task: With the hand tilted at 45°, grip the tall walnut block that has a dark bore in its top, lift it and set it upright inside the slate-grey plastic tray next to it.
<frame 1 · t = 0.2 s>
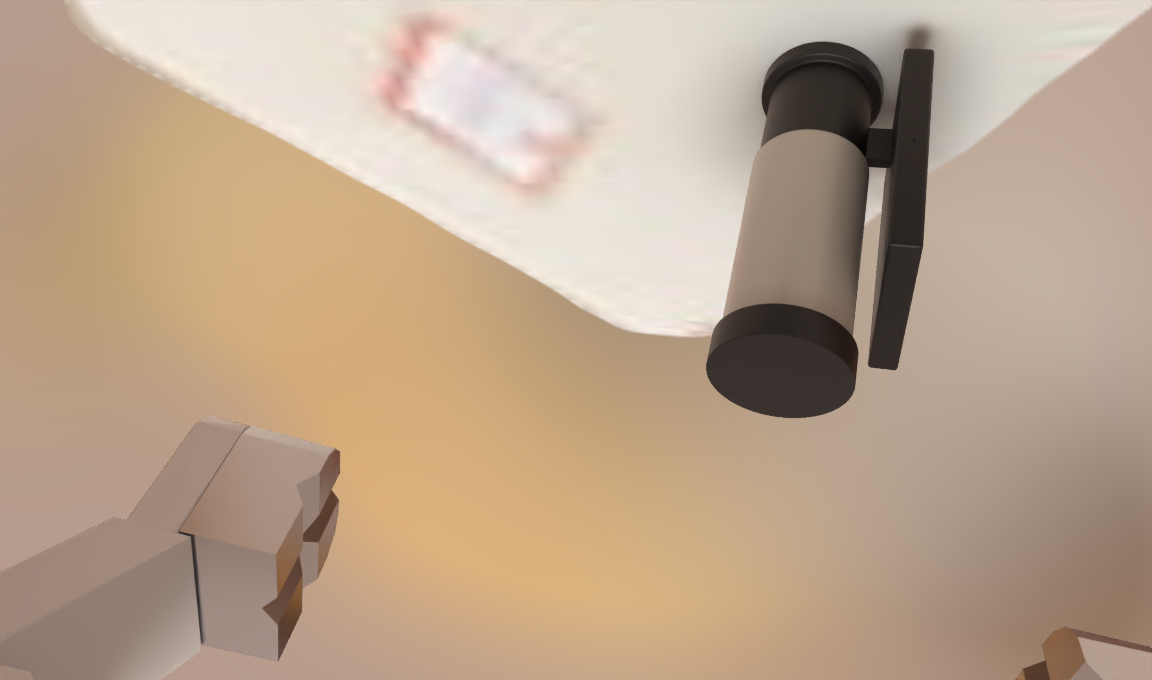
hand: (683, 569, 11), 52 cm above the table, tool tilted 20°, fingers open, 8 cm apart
light fixture: (841, 89, 69), on the table
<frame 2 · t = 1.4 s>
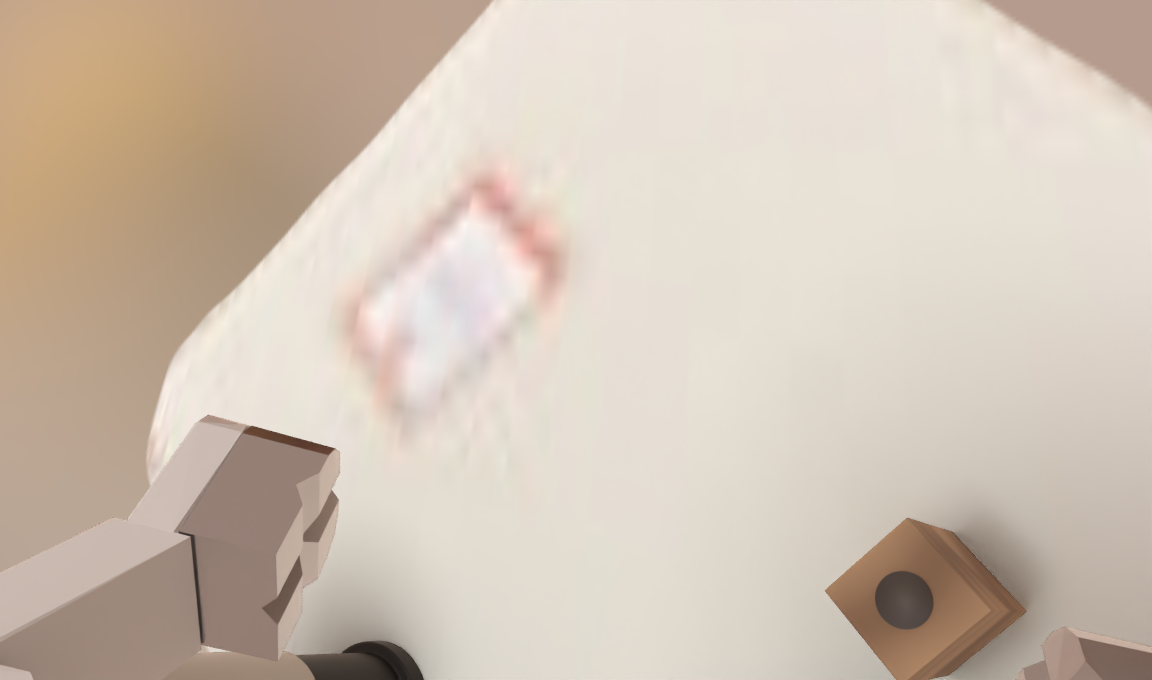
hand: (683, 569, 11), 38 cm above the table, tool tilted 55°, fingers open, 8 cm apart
walnut block: (950, 602, 45), on the table
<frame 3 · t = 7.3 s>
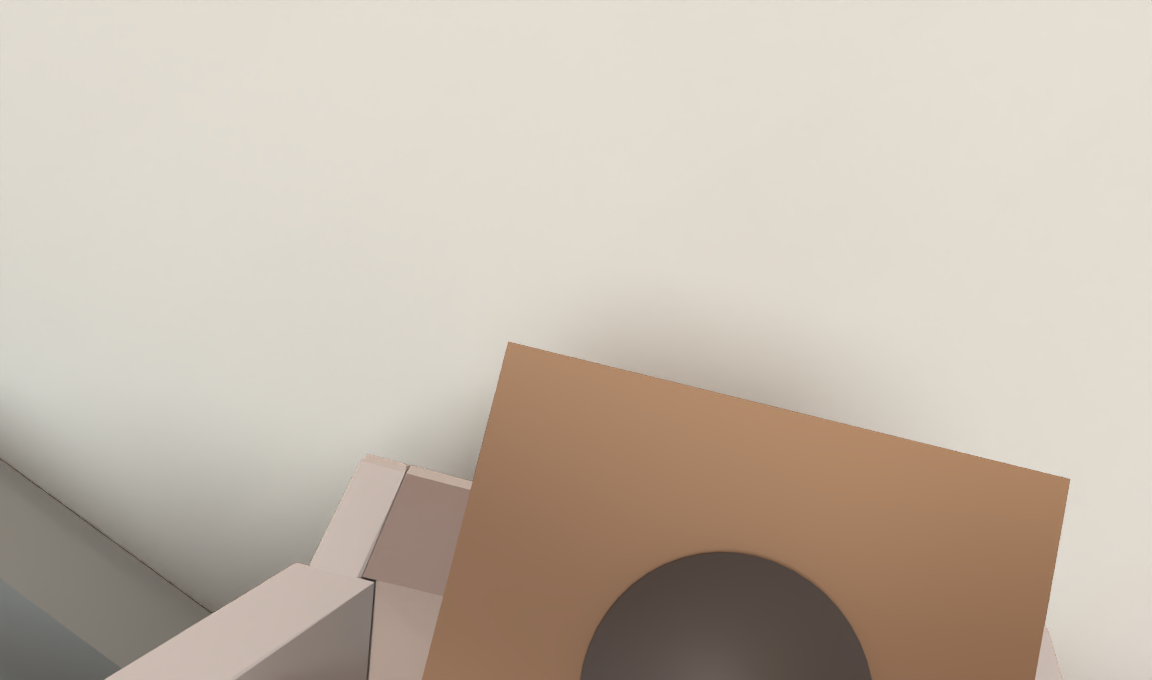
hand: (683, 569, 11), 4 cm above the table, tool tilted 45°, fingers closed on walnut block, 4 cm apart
walnut block: (641, 579, 15), on the table, touching gripper
when the fingers open (7 cm above the table, at t = 14.1 s): walnut block drops 2 cm, resting on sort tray.
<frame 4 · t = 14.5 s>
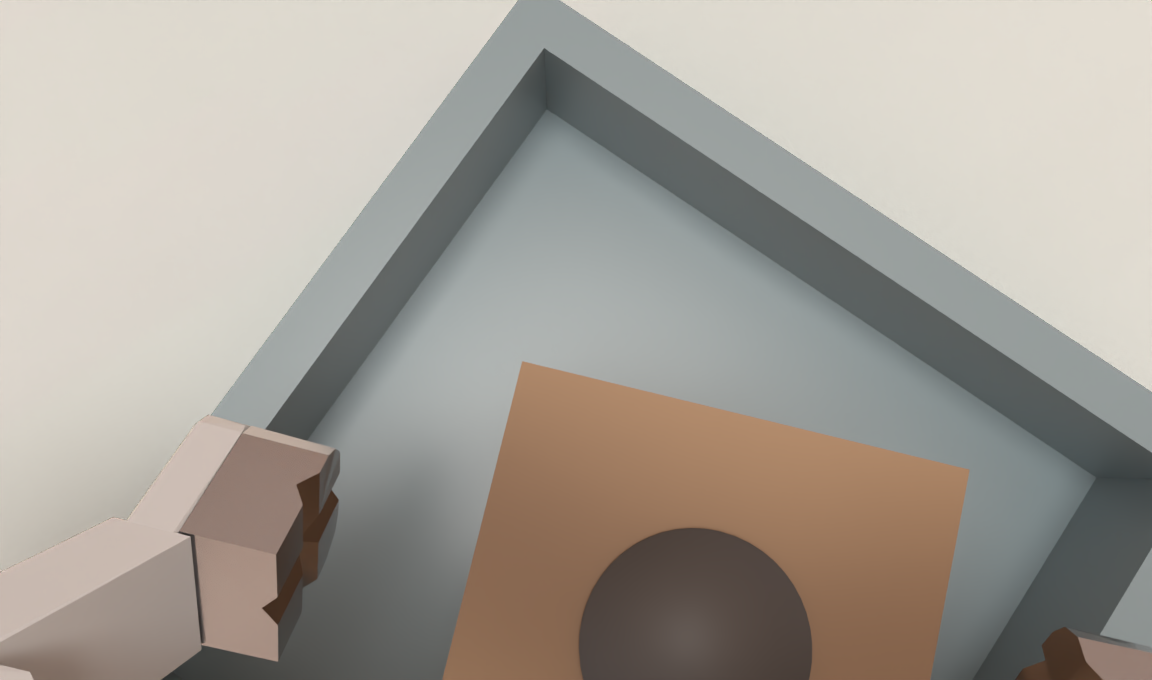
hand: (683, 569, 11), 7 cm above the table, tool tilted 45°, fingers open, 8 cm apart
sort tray: (628, 560, 18), on the table
walnut block: (634, 562, 17), point 1 cm above the table, touching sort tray
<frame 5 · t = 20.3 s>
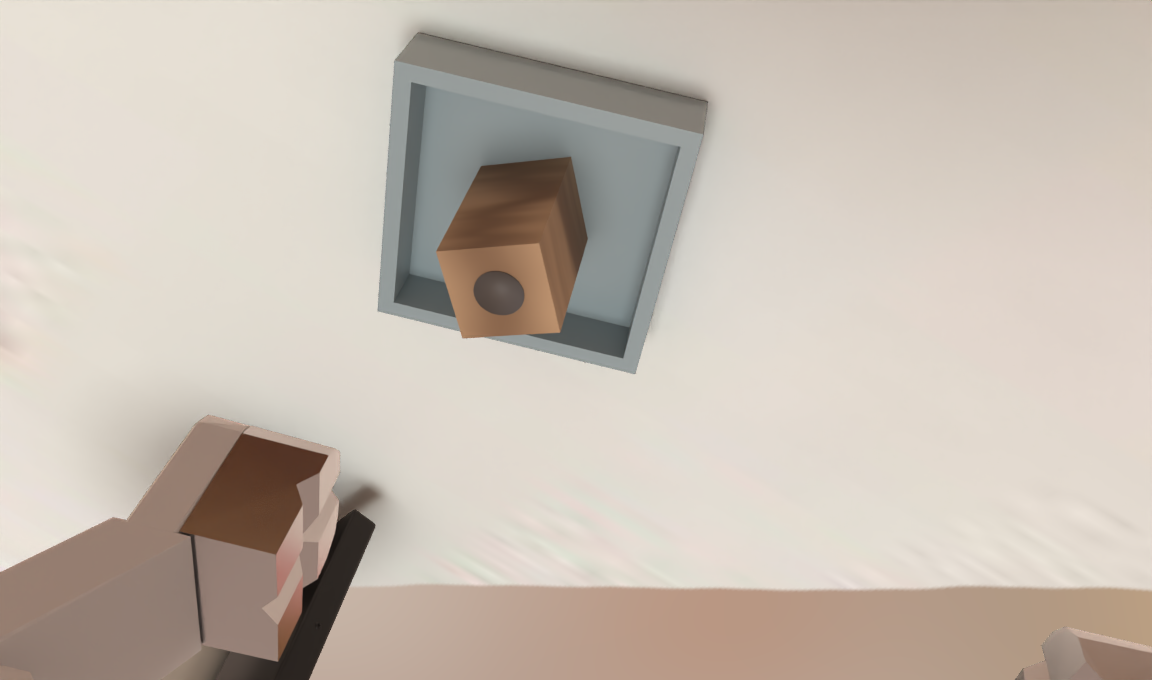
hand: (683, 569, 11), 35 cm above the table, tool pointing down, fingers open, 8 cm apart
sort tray: (539, 195, 49), on the table
walnut block: (535, 203, 48), point 1 cm above the table, touching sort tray
light fixture: (275, 482, 65), on the table
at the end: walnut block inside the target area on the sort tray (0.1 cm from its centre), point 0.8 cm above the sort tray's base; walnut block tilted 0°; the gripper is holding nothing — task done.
